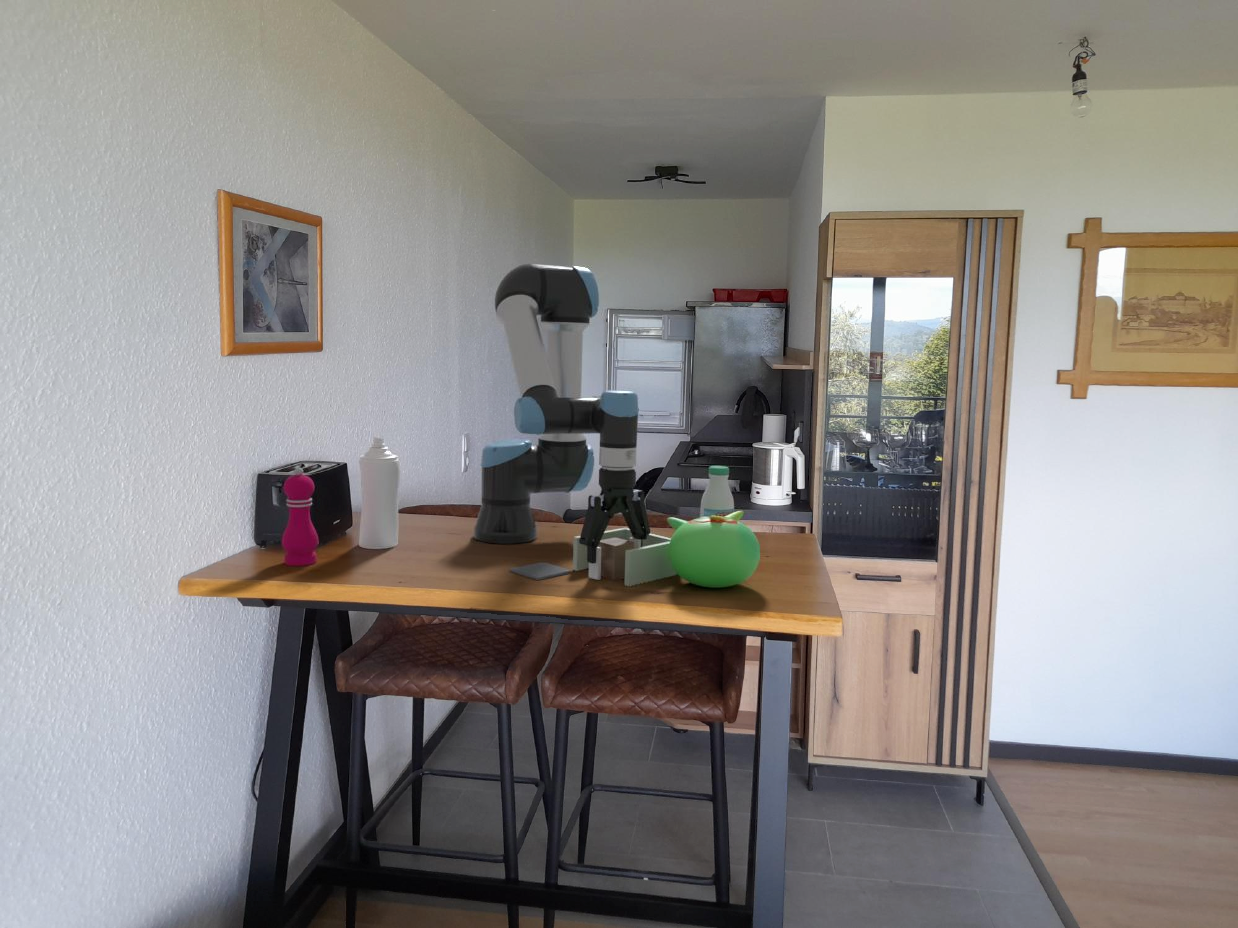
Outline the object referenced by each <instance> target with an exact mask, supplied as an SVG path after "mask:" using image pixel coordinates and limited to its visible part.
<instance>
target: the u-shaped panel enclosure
mask: <svg viewBox="0 0 1238 928" xmlns="http://www.w3.org/2000/svg"><path fill="white" fill-rule="evenodd" d="M580 536H581V535H577V536H573V544H572V545H573V547H572V550H573V551H572V553H573V554H572V555H573V556H572V570H573V571H582V570H586V569H588V570H589V563H588V561H587V546H586V545H583V544H580V543H579V540H580ZM615 537H616V538H620V539H624V540H628V541H629V538H634V537H633V536H632V534H631V532H630V530H629V527H622V528H615V529H609V530H605V532H604V534H603V536H602V538H601V540H605V539H610V538H615ZM671 538H672V537H666V536H663V535H657V534H654V533H650V534H649V535H647V538H646V539H645V540H644V539H643V542H642V547H640V548H635V549H630V550H626V552H625V577H624V586H626V585H628V586H627V587H631V586H630V585H633V586H636V585H635V584H637V585H641V584H644V583H643V582H645V583H649V582H652V581H656V579H657V580H660V579H664V577H665V578H668V577H673V576H677V575H678V574H677V573H676V572H675V570H674V569H673V567H672V565H671V562H670V559H669V543H670V540H671ZM593 541H594V540H593ZM648 581H649V582H648ZM640 583H641V584H640Z"/></svg>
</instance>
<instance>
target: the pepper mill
mask: <svg viewBox="0 0 1238 928" xmlns="http://www.w3.org/2000/svg"><path fill="white" fill-rule="evenodd" d="M293 472H294V473H293V474H294V475H290V476H289V477H288V478H286V479H285V481H284V484H283V493H284V494H285V495H286V496H287V498H286V506H287V507H288V510H289V515H288V516H289V519H288V522H287V525H286V528H285V530H284V532H283V534H282V538H281V547H282V548H283V549H284V550H285V552H287V553H285V554H284V563H285V565H287V566H290V567H291V566H292V567H302V566H305V567H306V566H311V565H313V564H316V563H317V558H318V557H317V552H315V550H316V548H317V547H318V546H319V543H320V542H319V540H320V539H319V536H318V533H317V530H316V529H315V526H314V524H313V522H312V520H311V513H310V512H311V506H312V505H313V498H312V497H311V496H312V495H313V494H314V492H315V483H314V480H313V479H312V478H311V477H309V476H307V475H305V474H304V469H303V468H301V467H295V469H294V470H293Z"/></svg>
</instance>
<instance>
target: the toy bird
mask: <svg viewBox="0 0 1238 928" xmlns="http://www.w3.org/2000/svg"><path fill="white" fill-rule="evenodd" d="M743 515H744V511H743V510H737V511H734V513H731V514H729V515H727V516H725V517H722V516H710V517H708V516H704V517H700V516H699V517H697V518H694V519H691V520H686V519H685V520H684V519H680V518H677V517H671V516H669V517H667V519H666V521H667V523H668V524H669V525H670V526H671V527H672V529H674V530H675V531H674V533H673V534H672V536H671V537H670V538H671V540H670V543H669V559H670V562H671V565H672V567H673V569H674V570H675V572H676V573H677V575H678V576H679V577H680V578H681V579H683V580H684V581H685V582H686V581H687V583H689V584H693V585H696V586H699V587H703V588H704V587H705V588H710V589H711V588H712V589H713V588H714V589H717V588H719V589H720V588H728V587H732V586H735V585H738V584H741V583H742V582H745V581H747V580H748V578H750V577H751V576H752V575H753V574H754V573H755V571H756V569H758V566H759V563H760V559H761V546H760V543H759V540H758V538H757V535H756V534H755V533H754V532H753V531H752V529H751V528H750V527H748V526H747V525H746V524H744V523H742V522H740V519H741V518H742V517H743Z"/></svg>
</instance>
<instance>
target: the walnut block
mask: <svg viewBox="0 0 1238 928" xmlns="http://www.w3.org/2000/svg"><path fill="white" fill-rule="evenodd" d="M598 547H601V577H604V578H607V579H611V580H613V579H614V581H615V580H619V578H620V579H622V578H621V577H624V578H625V552H626V550H630V549H634V542H632V541H628V540H624V539H620V538H616V537H615V538H610V539H605V540H601V541H600V543H599V545H598Z"/></svg>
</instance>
